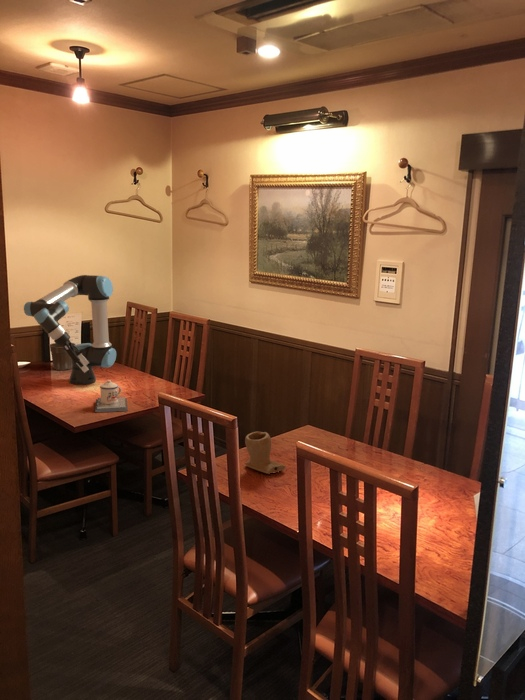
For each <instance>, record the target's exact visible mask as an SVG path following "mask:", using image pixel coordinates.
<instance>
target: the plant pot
mask: <svg viewBox="0 0 525 700" xmlns="http://www.w3.org/2000/svg"><path fill="white" fill-rule="evenodd" d="M71 343H72V344H73V345H76V343H74V342H71ZM48 346H49V349H50V353H51V359H52V366H53V369H54V370H55V369H56V371H66V370H72V358H71V357H70V356H69V354H68V353H67V351H66V350H65V349H64V348H63V347H64V346H63V345H61V346H58V345H57V344H56V343H55V342H54V343H50V344H48Z"/></svg>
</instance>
